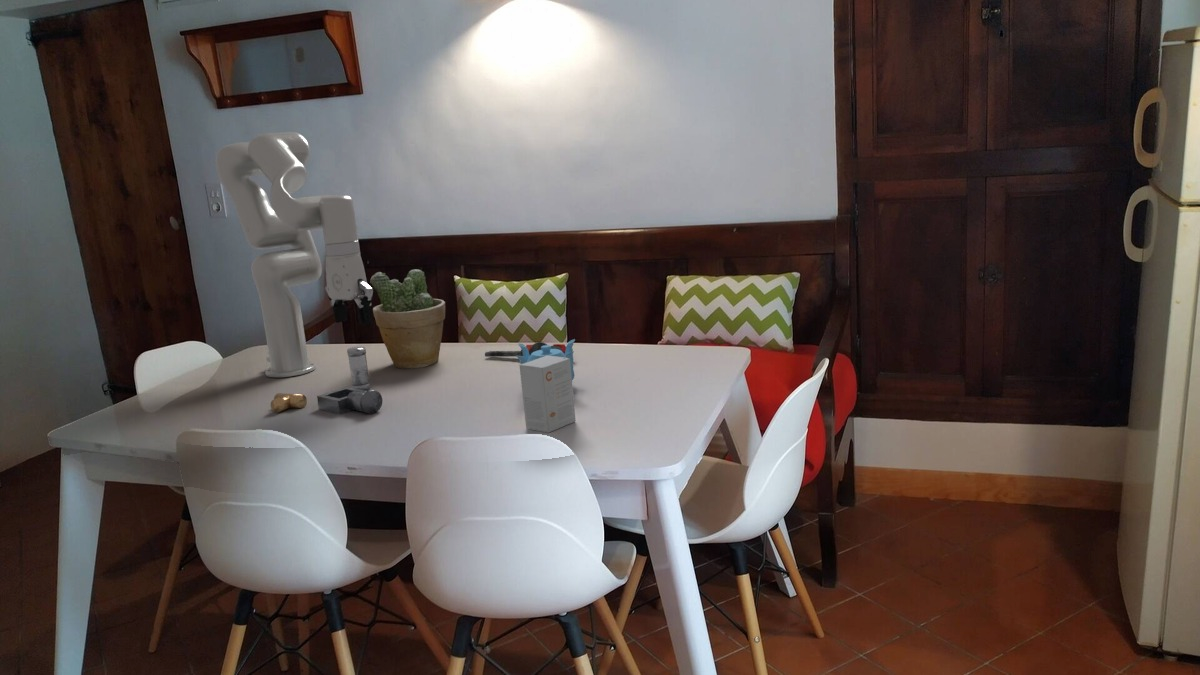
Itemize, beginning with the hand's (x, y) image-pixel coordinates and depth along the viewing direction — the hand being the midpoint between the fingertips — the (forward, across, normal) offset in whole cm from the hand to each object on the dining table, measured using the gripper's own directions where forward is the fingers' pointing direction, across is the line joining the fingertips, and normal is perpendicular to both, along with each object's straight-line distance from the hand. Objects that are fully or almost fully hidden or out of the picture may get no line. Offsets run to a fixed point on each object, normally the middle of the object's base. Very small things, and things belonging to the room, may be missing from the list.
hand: (353, 322), depth 218 cm
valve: (+17, +18, +40) cm, 47 cm away
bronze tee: (+16, -3, -18) cm, 25 cm away
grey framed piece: (+16, +12, -11) cm, 23 cm away
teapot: (+17, +42, +20) cm, 50 cm away
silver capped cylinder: (+16, -1, 0) cm, 16 cm away
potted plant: (+16, -9, +23) cm, 29 cm away
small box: (+18, +60, +1) cm, 63 cm away
